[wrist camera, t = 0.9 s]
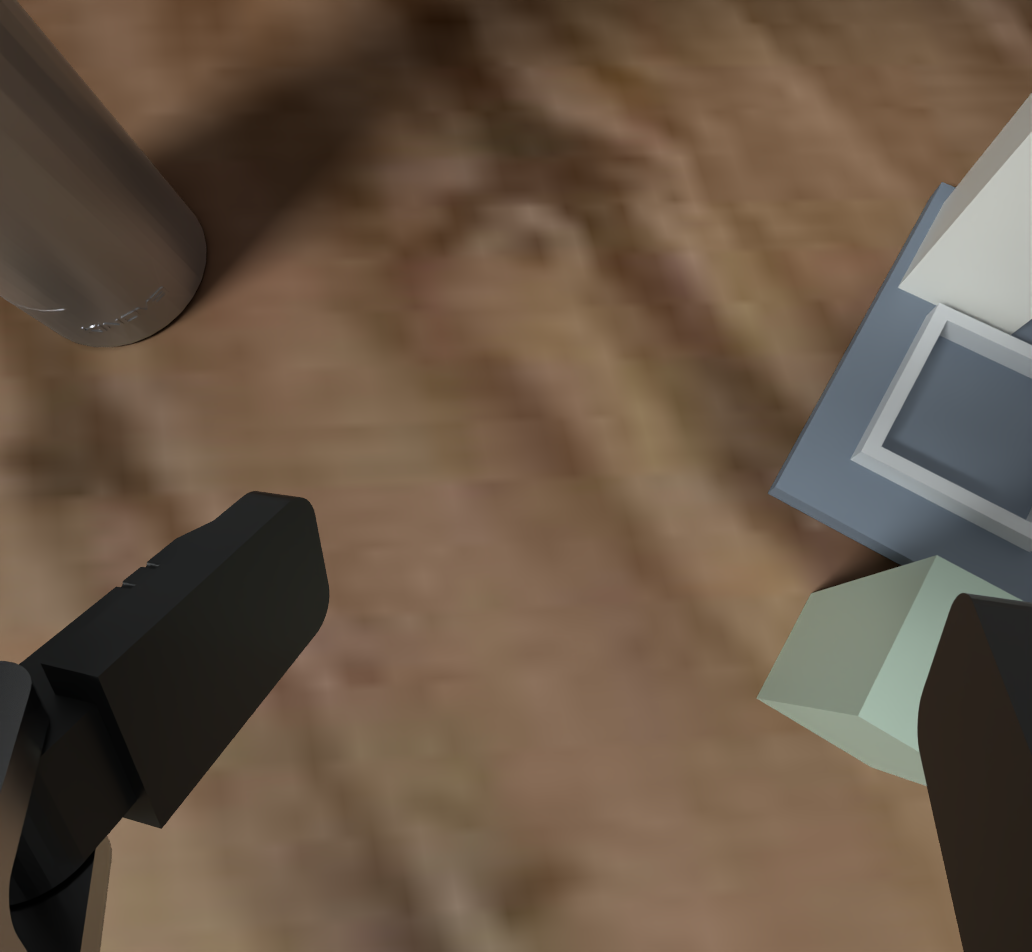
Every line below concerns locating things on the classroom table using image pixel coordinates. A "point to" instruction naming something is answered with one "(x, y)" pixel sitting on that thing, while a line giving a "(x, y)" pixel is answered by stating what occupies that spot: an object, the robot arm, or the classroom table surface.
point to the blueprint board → (924, 436)
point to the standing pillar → (984, 236)
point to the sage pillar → (870, 660)
